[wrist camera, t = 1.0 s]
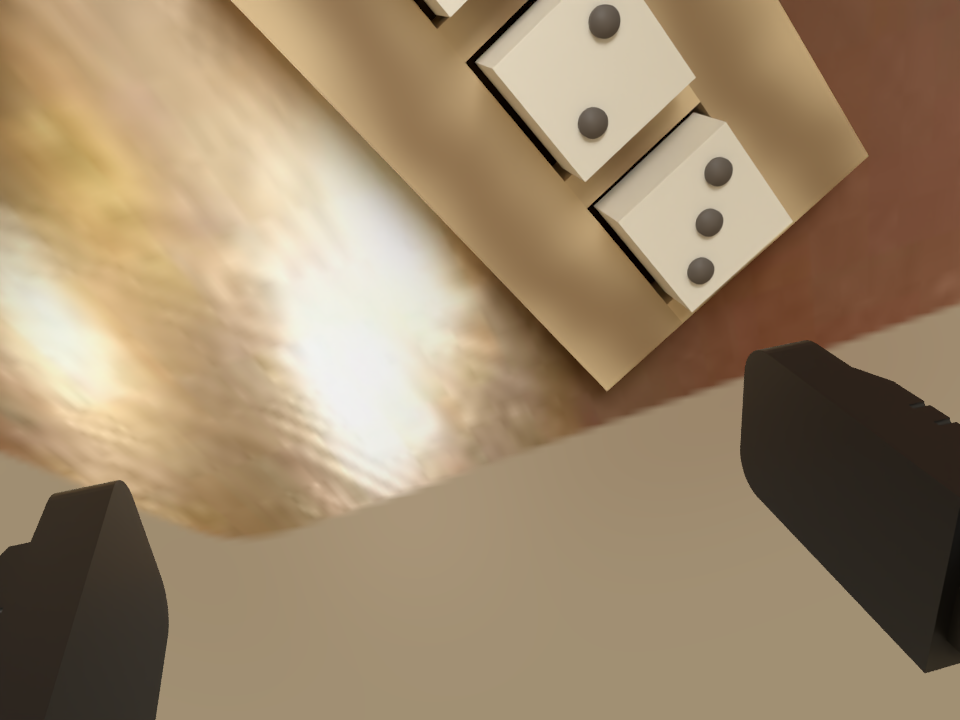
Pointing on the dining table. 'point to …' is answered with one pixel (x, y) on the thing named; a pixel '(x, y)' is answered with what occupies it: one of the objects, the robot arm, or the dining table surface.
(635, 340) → the board
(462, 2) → the tile one
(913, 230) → the dining table surface
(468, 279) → the dining table surface
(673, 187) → the tile three
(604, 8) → the tile two
